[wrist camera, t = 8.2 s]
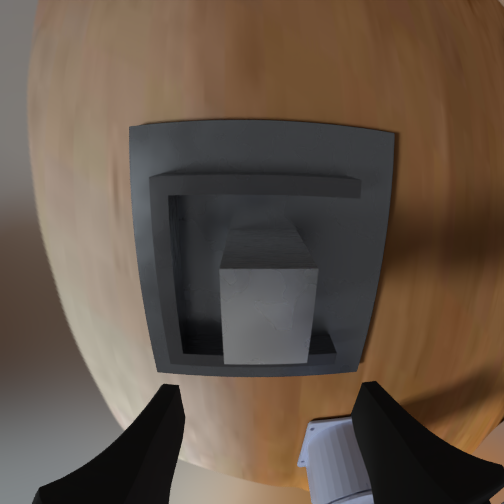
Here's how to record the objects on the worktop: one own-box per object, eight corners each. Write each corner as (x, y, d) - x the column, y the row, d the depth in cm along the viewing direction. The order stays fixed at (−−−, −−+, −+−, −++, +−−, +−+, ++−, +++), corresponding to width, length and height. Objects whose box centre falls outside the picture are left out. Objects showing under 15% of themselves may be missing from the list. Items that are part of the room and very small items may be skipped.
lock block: (291, 303, 19) (306, 362, 13) (230, 303, 19) (224, 364, 13) (296, 229, 17) (318, 268, 12) (228, 229, 17) (219, 268, 12)
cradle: (353, 365, 22) (364, 389, 19) (159, 365, 22) (150, 390, 19) (388, 133, 16) (411, 132, 13) (134, 127, 16) (113, 124, 13)
